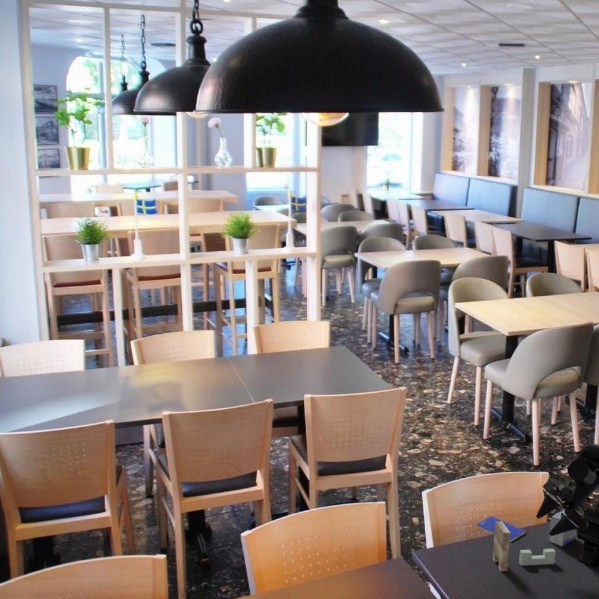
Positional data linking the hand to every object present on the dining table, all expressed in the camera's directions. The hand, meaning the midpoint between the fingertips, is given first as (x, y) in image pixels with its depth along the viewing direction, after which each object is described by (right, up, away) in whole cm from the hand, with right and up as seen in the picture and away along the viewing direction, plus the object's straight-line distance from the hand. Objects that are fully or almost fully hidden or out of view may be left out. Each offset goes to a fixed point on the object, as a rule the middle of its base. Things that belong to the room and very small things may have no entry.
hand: (543, 526), depth 223 cm
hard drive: (-5, -9, +26) cm, 28 cm away
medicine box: (+12, -10, +20) cm, 26 cm away
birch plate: (-11, -13, +6) cm, 18 cm away
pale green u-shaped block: (0, -13, +7) cm, 14 cm away
